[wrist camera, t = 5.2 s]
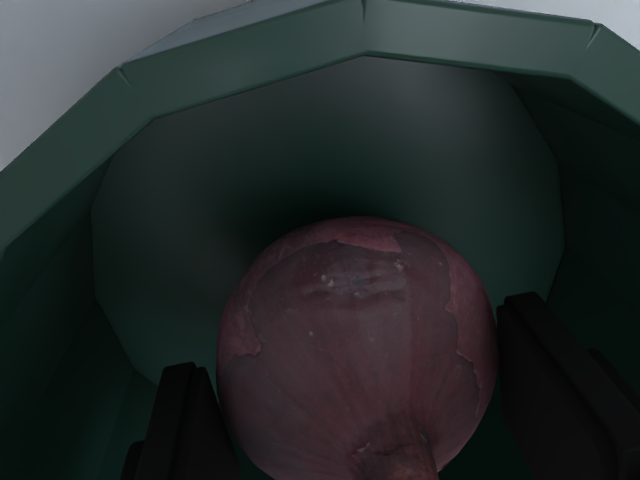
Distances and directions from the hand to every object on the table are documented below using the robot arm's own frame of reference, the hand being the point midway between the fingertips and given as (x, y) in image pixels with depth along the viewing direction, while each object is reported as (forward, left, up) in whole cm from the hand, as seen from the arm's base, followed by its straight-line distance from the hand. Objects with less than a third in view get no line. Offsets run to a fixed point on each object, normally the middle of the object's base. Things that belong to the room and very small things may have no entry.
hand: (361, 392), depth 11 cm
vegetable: (0, 0, -5) cm, 5 cm away
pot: (0, 0, -6) cm, 6 cm away
